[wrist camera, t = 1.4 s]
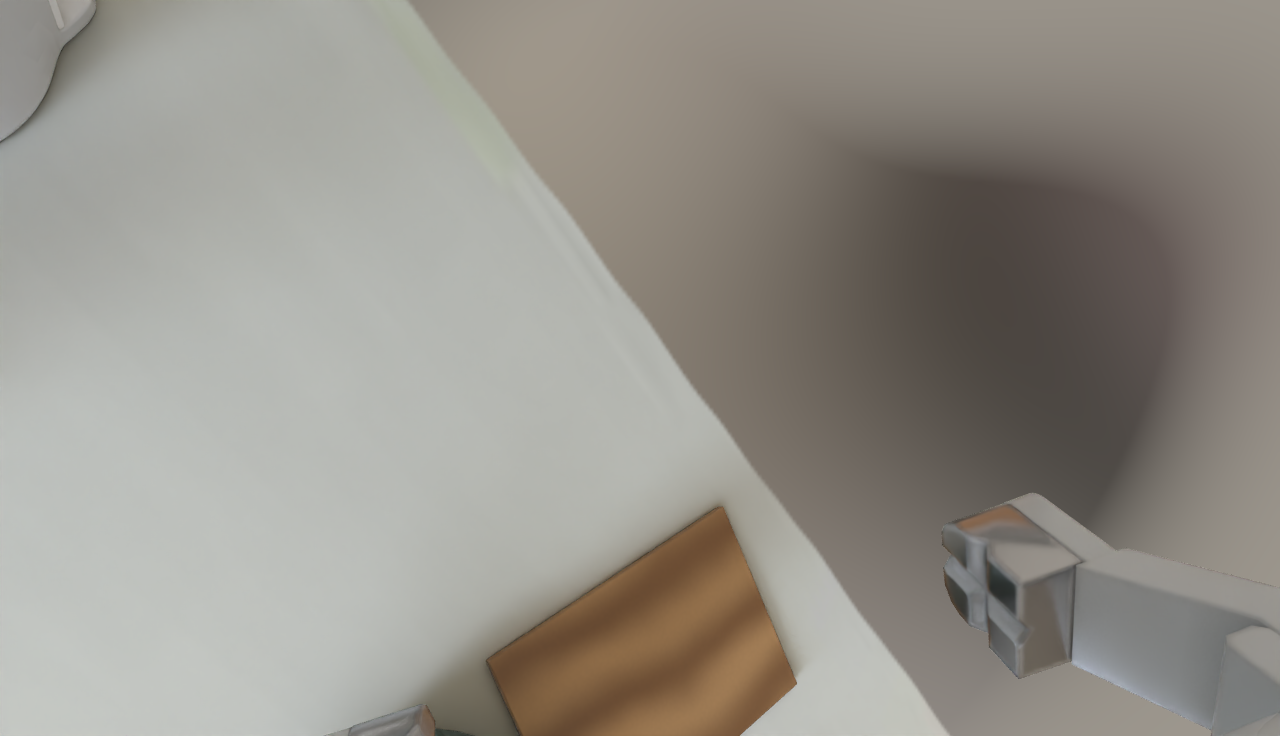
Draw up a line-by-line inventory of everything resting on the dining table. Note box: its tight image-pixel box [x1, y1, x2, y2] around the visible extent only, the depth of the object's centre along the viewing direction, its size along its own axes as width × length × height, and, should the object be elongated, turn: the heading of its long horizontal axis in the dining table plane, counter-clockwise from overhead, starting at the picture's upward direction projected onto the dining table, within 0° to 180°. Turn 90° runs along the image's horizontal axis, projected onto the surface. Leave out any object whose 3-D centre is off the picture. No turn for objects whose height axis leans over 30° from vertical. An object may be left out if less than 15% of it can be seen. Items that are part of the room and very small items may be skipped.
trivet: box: [486, 506, 797, 736], centre depth 52 cm, size 15×20×1 cm
